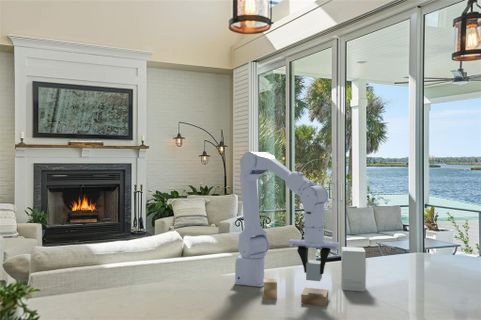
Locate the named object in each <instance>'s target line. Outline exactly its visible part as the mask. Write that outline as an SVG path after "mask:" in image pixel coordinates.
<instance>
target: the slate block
mask: <svg viewBox="0 0 481 320" xmlns="http://www.w3.org/2000/svg"><path fill="white" fill-rule="evenodd" d="M320 266H321V260H313V259H308V261H307V263H306V273H305V280H306V281H312V282H313V281H314V282H321V280H322V278H323V274H320Z"/></svg>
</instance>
